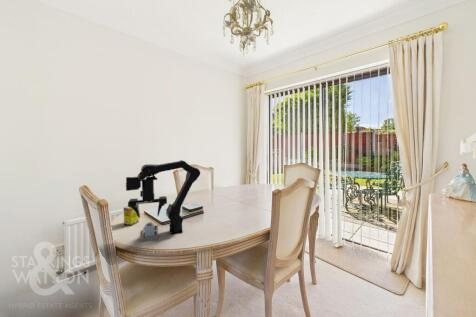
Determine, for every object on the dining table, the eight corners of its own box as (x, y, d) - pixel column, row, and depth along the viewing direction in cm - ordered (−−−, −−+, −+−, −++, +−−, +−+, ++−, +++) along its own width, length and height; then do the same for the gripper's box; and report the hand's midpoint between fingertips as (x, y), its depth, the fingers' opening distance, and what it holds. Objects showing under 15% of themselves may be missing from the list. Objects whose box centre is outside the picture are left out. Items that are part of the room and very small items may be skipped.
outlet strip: (158, 227, 125) (158, 225, 125) (157, 239, 111) (157, 236, 111) (142, 229, 123) (142, 227, 122) (139, 241, 108) (139, 239, 108)
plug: (154, 234, 116) (154, 221, 115) (154, 238, 112) (153, 224, 111) (145, 235, 115) (145, 222, 114) (145, 239, 111) (144, 225, 110)
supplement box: (131, 226, 127) (131, 208, 126) (123, 224, 129) (123, 207, 128) (139, 222, 133) (138, 205, 132) (131, 221, 134) (130, 204, 133)
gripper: (166, 184, 121) (167, 210, 123) (130, 186, 115) (131, 213, 117) (166, 188, 111) (167, 217, 112) (127, 191, 105) (128, 221, 106)
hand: (148, 217), depth 112 cm, fingers open, 9 cm apart
